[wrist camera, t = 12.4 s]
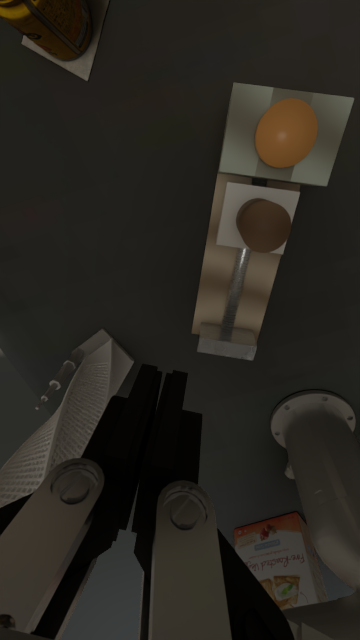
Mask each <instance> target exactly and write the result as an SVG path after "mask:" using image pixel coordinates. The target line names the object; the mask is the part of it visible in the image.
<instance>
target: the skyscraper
mask: <svg viewBox="0 0 360 640" xmlns="http://www.w3.org/2000/svg"><path fill="white" fill-rule="evenodd" d="M80 361H81V362H82V363H81V365H80V366H79V368H78V370H77V371H76V373H75V375H74V377H73V379H72V381H71V382H70V385H69V387H68V389H67V391H66V394H65V396H64V399H63V401H62V403H61V405H60V406H59V408H58V409H57V411H56V412H55V413H54V414H53V416H52V417H51V418H50V419H49V420H48V421H47V422H46V423H44V424H43V425H42V426H41V427H40V428H39V429H38V430H37V431H36V432H35V433H33V434H32V435H31V436H30V437H29V438H28V439H27V441H25V443H24V444H23V445H22V446H21V447H20V448H19V449H18V450H17V451H16V452H15V453H14V455H13V456H12V457H11V458H10V459H9V460H8V461H7V463H6V464H5V465H4V466H3V467H2V469H1V470H0V508H1V507H3V506H5V505H7V504H10V503H12V502H14V501H16V500H18V499H20V498H22V497H24V496H26V495H29V494H31V493H33V492H35V491H36V489H37V488H38V487H39V486H40V484H41V483H42V482H43V480H44V479H45V478H46V477H47V475H48V474H49V473H50V472H51V471H52V470H53V469H54V468H55V467H56V466H57V465H59V464H60V463H62V462H64V461H66V460H69V459H73V458H81V456H82V454H83V452H84V450H85V448H86V446H87V444H88V442H89V440H90V438H91V436H92V434H93V432H94V430H95V428H96V426H97V424H98V422H99V420H100V418H101V416H102V414H103V412H104V410H105V408H106V406H107V404H108V402H109V400H110V399H111V397H112V396H113V395H115V394H116V393H117V391H118V389H119V388H120V386H121V384H122V382H123V381H124V379H125V377H126V375H127V374H128V372H129V370H130V368H131V367H132V365H133V363H134V361H135V360H134V359H133V358H132V357H131V356H130V355H129V354H128V353H127V352H126V351H125V350H124V348H123V347H122V346H121V345H120V344H119V343H118V342H117V341H116V340H115V339H114V338H113V337H112V336H111V335H110V334H109V333H108V332H107V331H106V330H105V329H104V328H102V329H101V330H100V331H98V332H97V333H96V334H94V335H93V336H92V337H90V338H89V339H88V340H86V341H85V342H84V343H82V344H81V345H80V346H78V347H77V348H76V349H74V350H73V351H72V355H71V356H70V358H69V359H68V360H67V361H66V362H65V363H64V365H63V367H62V368H61V370H60V371H59V372H58V374H57V375H56V377H55V378H54V379H53V380H52V381H51V382H50V383H49V384H50V387H49V389H48V390H47V391H46V393H45V394H44V395H43V396H42V397H41V398H42V400H41V402H40V403H39V404H38V406H37V407H36V409H37V410H38V409H39V407H40V406H41V405H42V403H43V402H44V401H47V400H48V399H49V397H50V395H51V394H52V393H53V392H54V391H55V389H56V390H57V389H59V388H60V387H61V386H62V384H63V382H64V381H65V379H66V378H67V377H68V376H69V374H70V373H71V372H72V371H73V370H74V369H76V367H77V364H78V363H79V362H80Z"/></svg>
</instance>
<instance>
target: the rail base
mask: <svg viewBox="0 0 360 640" xmlns="http://www.w3.org/2000/svg"><path fill="white" fill-rule="evenodd" d="M290 98H295V99H300V100H302V101H304V102H306V103H307V104H308V105H309V106H310V107H311V108H312V109H313V111H314V113H315V115H316V118H317V124H318V130H317V137H316V140H315V143H314V145H313V147H312V149H311V151H310V152H309V153H308V155H307V156H306V157H305V158H304V159H303V160H301V161H300V162H298V163H297V164H295V165H293V166H290V167H285V168H274V167H270V166H268V165H266V164H265V163H264V162H263V161H262V160H261V159H260V158H259V156H258V154H257V152H256V149H255V142H254V139H255V132H256V128H257V125H258V123H259V121H260V120H261V118H262V117H263V115H264V114H265V113H266V111H267V110H268V109H269V108H270V107H271V106H273V105H274V104H275V103H277V102H279V101H281V100H284V99H290ZM353 101H354V98H350V97H342V96H335V95H327V94H319V93H311V92H303V91H296V90H288V89H280V88H272V87H264V86H257V85H249V84H241V83H234V84H233V89H232V93H231V98H230V103H229V108H228V113H227V119H226V125H225V131H224V137H223V144H222V150H221V156H220V162H219V168H218V174H217V180H216V186H215V192H214V199H213V205H212V211H211V217H210V223H209V229H208V235H207V241H206V247H205V254H204V260H203V266H202V272H201V278H200V284H199V290H198V296H197V302H196V309H195V315H194V321H193V327H192V334H199V337H198V347H197V352H203V353H209V354H215V355H221V356H227V357H234V358H240V359H246V360H252V361H253V359H254V355H255V352H256V348H257V345H256V343H257V339H258V336H259V332H260V329H261V325H262V322H263V318H264V314H265V311H266V307H267V304H268V300H269V297H270V293H271V289H272V286H273V282H274V279H275V275H276V272H277V268H278V264H279V261H280V257H281V254H277V253H270V252H268V253H259V252H255V251H253V250H250V249H243V248H237V247H230V246H223V245H216V237H217V232H218V226H219V220H220V215H221V209H222V204H223V198H224V192H225V187H226V182H232V183H239V184H246V185H253V186H260V187H267V188H274V189H281V190H288V191H296V192H299V189H300V186H301V185H313V186H327V183H328V180H329V177H330V174H331V171H332V168H333V164H334V161H335V158H336V155H337V152H338V149H339V145H340V142H341V139H342V136H343V133H344V130H345V126H346V123H347V120H348V117H349V114H350V111H351V107H352V104H353Z"/></svg>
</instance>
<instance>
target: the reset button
mask: <svg viewBox="0 0 360 640" xmlns="http://www.w3.org/2000/svg"><path fill="white" fill-rule="evenodd" d="M317 130H318V124H317V118H316V115H315V113H314V111H313V109H312V108H311V107H310V106H309V105H308V104H307V103H306V102H304V101H302V100H300V99H295V98H290V99H284V100H281V101H279V102H277V103H275V104H274V105H273V106H271V107H270V108H269V109H268V110H267V111H266V113H265V114H264V115H263V117H262V118H261V120H260V121H259V123H258V125H257V128H256V132H255V139H254V142H255V149H256V152H257V154H258V156H259V158H260V159H261V160H262V161H263V162H264V163H265V164H266V165H268V166H270V167H274V168H285V167H290V166H293V165H295V164H297V163H298V162H300V161H301V160H303V159H304V158H305V157H306V156H307V155H308V153H309V152H310V151H311V149H312V147H313V145H314V143H315V140H316V137H317Z"/></svg>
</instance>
